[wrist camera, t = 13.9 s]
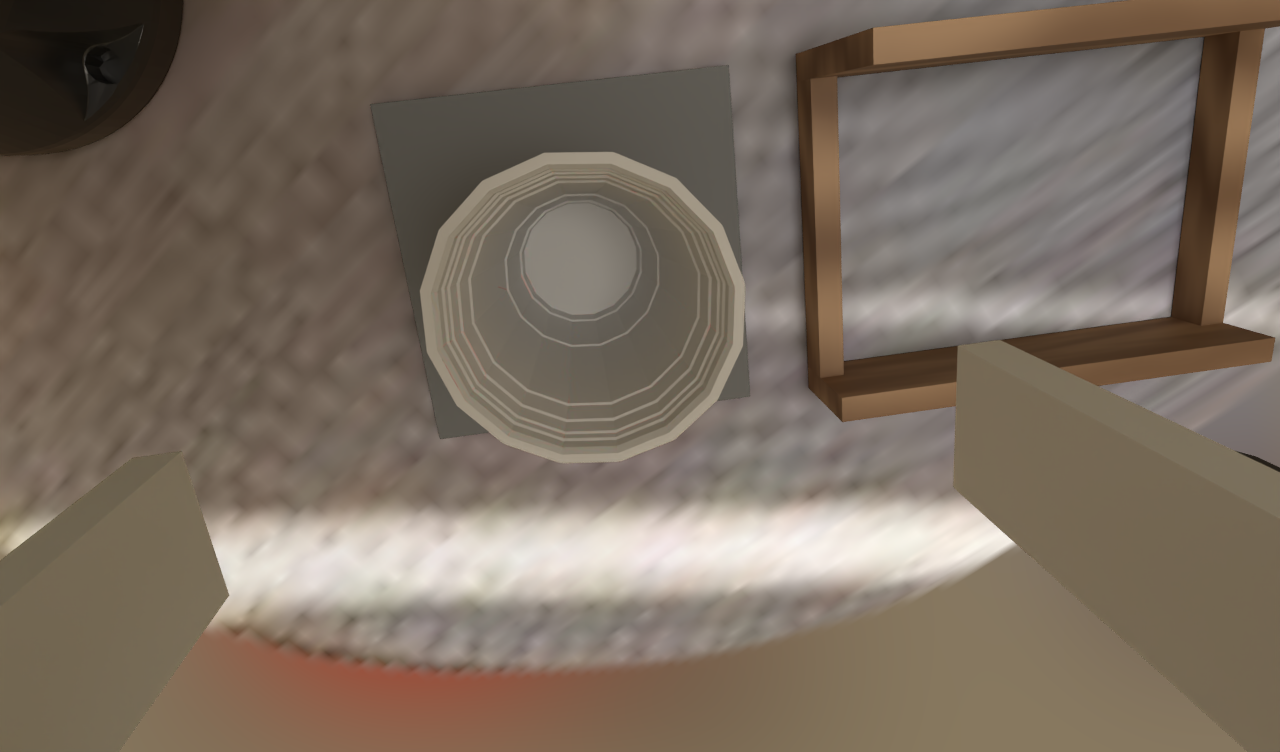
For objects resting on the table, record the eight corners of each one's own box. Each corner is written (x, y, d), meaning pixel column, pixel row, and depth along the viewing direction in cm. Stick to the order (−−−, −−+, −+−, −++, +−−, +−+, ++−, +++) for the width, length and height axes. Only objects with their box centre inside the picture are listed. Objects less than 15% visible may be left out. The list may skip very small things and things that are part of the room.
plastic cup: (413, 234, 35) (342, 283, 23) (603, 94, 34) (626, 74, 22) (553, 411, 38) (550, 529, 27) (730, 288, 37) (806, 356, 26)
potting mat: (373, 104, 33) (370, 104, 33) (725, 66, 34) (728, 65, 34) (441, 434, 38) (439, 439, 38) (747, 392, 39) (750, 396, 39)
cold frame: (795, 54, 35) (873, 27, 26) (1231, 6, 36) (1440, -34, 27) (808, 387, 40) (876, 456, 31) (1189, 335, 41) (1353, 387, 33)
